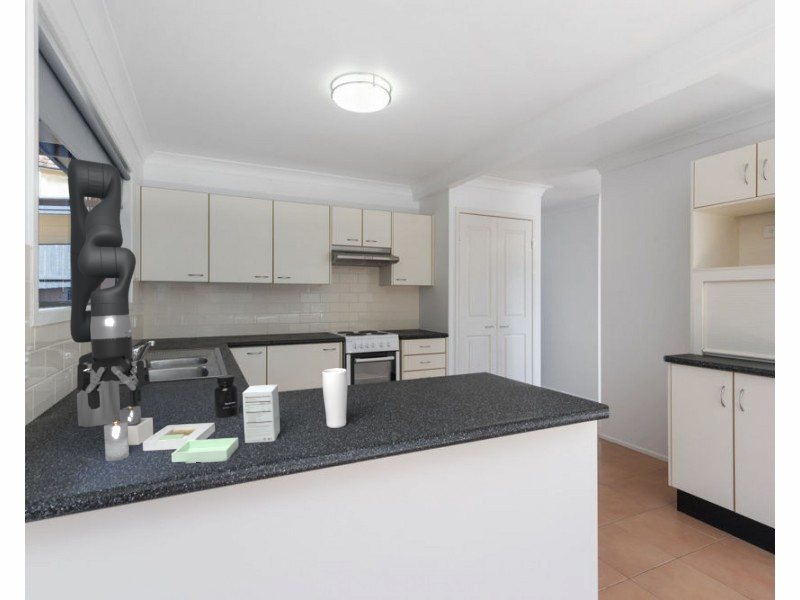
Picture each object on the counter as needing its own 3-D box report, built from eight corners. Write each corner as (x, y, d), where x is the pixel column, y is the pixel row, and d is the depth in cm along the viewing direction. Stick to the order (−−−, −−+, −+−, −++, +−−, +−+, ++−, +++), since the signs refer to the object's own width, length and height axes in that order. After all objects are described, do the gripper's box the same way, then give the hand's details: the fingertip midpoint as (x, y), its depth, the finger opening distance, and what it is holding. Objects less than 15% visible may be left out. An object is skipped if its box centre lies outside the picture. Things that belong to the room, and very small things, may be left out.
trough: (172, 464, 89) (171, 453, 89) (188, 450, 97) (187, 440, 97) (226, 460, 90) (226, 450, 90) (238, 447, 98) (238, 437, 98)
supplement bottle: (230, 419, 120) (228, 378, 120) (209, 419, 122) (207, 378, 121) (243, 412, 127) (242, 374, 127) (223, 412, 128) (222, 373, 128)
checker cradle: (143, 452, 97) (142, 439, 97) (168, 435, 109) (167, 423, 109) (196, 449, 98) (195, 436, 97) (215, 432, 110) (214, 420, 109)
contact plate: (163, 442, 100) (163, 438, 100) (174, 434, 106) (174, 430, 106) (188, 441, 100) (187, 437, 100) (198, 433, 106) (197, 429, 106)
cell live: (101, 463, 91) (99, 425, 91) (113, 455, 95) (111, 419, 95) (121, 462, 91) (120, 424, 91) (133, 454, 96) (131, 418, 96)
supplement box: (252, 433, 108) (249, 385, 108) (280, 431, 109) (278, 383, 108) (243, 443, 101) (241, 392, 100) (274, 441, 101) (272, 390, 101)
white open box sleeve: (108, 448, 100) (107, 427, 100) (125, 438, 107) (124, 419, 107) (138, 446, 101) (137, 426, 101) (153, 436, 108) (152, 417, 108)
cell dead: (117, 444, 102) (115, 409, 102) (127, 437, 106) (126, 404, 106) (135, 442, 102) (134, 408, 102) (145, 436, 106) (143, 403, 106)
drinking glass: (328, 431, 107) (326, 374, 107) (320, 424, 113) (318, 370, 113) (352, 426, 110) (350, 371, 110) (344, 420, 116) (342, 367, 116)
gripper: (66, 339, 89) (70, 414, 89) (135, 335, 90) (138, 410, 90) (89, 335, 96) (93, 405, 96) (153, 332, 97) (156, 401, 97)
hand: (115, 407), depth 93 cm, fingers open, 8 cm apart
